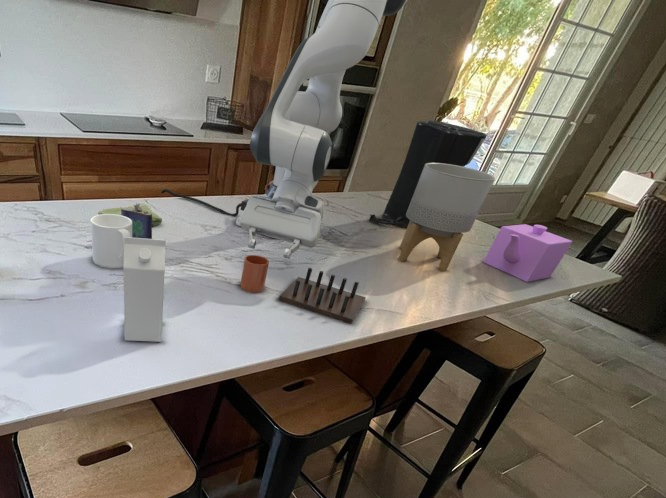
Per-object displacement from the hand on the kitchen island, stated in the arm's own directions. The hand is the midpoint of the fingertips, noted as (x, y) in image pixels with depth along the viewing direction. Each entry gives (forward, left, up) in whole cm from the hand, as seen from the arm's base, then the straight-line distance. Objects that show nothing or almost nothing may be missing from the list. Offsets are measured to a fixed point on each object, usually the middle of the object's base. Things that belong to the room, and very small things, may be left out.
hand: (268, 252), depth 106 cm
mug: (-35, -15, -8) cm, 39 cm away
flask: (-39, 0, -8) cm, 40 cm away
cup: (-1, -4, -8) cm, 9 cm away
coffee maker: (+22, +94, -8) cm, 97 cm away
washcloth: (-51, +13, -8) cm, 53 cm away
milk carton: (-10, -38, -8) cm, 40 cm away
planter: (+34, +53, -8) cm, 63 cm away
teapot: (+61, +66, -8) cm, 91 cm away
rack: (+16, +1, -8) cm, 18 cm away
